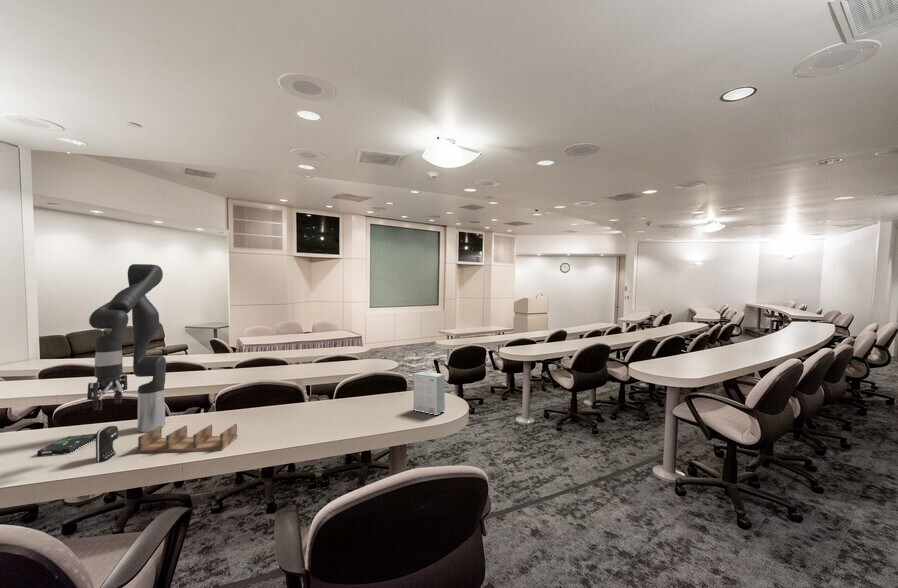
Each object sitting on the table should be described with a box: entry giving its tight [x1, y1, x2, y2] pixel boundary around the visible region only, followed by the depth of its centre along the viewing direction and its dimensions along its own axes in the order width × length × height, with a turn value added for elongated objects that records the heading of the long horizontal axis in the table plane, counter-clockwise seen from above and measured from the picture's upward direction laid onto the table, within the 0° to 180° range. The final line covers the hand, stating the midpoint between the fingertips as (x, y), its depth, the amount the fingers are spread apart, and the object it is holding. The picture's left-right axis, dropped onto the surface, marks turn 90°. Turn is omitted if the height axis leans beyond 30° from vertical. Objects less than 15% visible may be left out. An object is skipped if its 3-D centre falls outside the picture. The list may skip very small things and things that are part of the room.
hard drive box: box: [413, 371, 446, 415], centre depth 184 cm, size 16×8×20 cm, turn 58°
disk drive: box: [36, 433, 96, 457], centre depth 140 cm, size 10×3×15 cm
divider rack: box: [136, 423, 238, 454], centre depth 142 cm, size 12×31×6 cm, turn 95°
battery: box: [95, 425, 119, 463], centre depth 131 cm, size 7×4×11 cm, turn 16°
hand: (108, 406), depth 131 cm, fingers open, 8 cm apart
